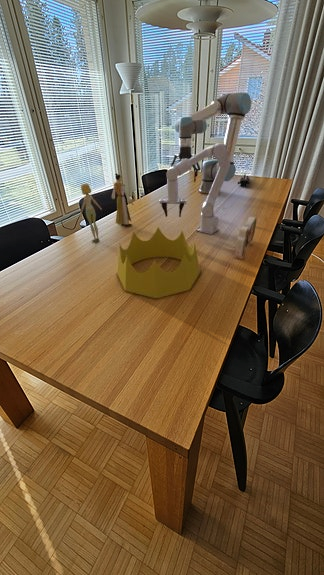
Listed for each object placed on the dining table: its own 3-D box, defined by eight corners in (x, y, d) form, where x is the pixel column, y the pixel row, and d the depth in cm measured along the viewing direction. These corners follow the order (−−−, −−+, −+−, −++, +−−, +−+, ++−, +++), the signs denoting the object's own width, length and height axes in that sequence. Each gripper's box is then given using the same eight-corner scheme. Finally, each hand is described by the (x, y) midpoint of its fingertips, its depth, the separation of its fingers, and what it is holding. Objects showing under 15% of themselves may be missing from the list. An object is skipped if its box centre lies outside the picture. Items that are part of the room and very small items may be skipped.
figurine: (140, 227, 158) (135, 173, 141) (129, 231, 153) (122, 176, 136) (119, 219, 169) (112, 169, 152) (109, 224, 164) (100, 172, 147)
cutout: (244, 233, 111) (258, 210, 128) (237, 232, 113) (252, 210, 129) (240, 263, 121) (254, 238, 137) (234, 262, 122) (248, 237, 138)
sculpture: (103, 236, 150) (93, 180, 132) (108, 238, 147) (98, 181, 130) (83, 243, 142) (70, 186, 125) (88, 246, 140) (75, 187, 122)
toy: (240, 179, 245) (237, 186, 221) (241, 173, 242) (238, 180, 219) (251, 179, 242) (249, 186, 218) (251, 174, 240) (249, 180, 216)
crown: (123, 254, 130) (119, 225, 122) (197, 252, 128) (198, 223, 120) (109, 299, 101) (102, 265, 92) (204, 297, 99) (206, 262, 90)
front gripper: (186, 189, 143) (186, 214, 151) (160, 189, 146) (161, 213, 153) (185, 193, 138) (185, 218, 145) (158, 193, 140) (159, 218, 148)
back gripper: (164, 146, 164) (165, 182, 176) (205, 146, 160) (203, 183, 172) (166, 145, 170) (167, 180, 182) (205, 144, 166) (203, 180, 178)
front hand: (173, 216), depth 149 cm, fingers open, 7 cm apart
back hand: (184, 181), depth 177 cm, fingers open, 13 cm apart
